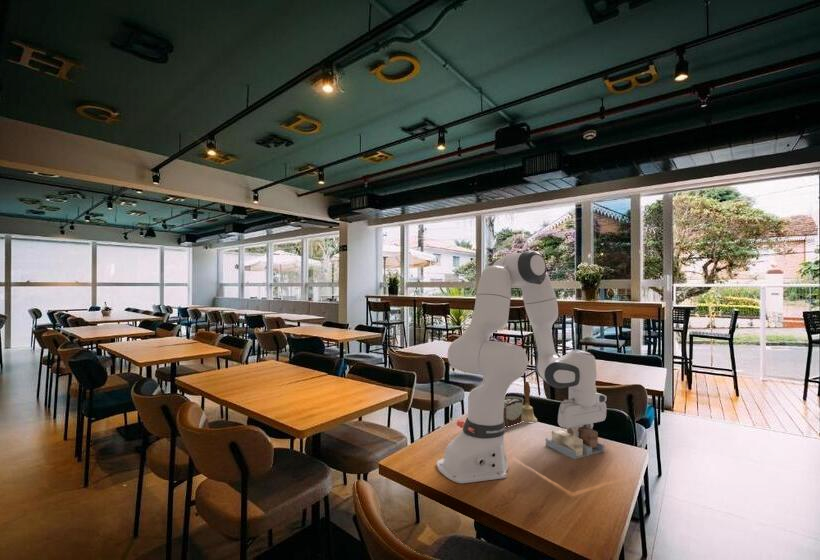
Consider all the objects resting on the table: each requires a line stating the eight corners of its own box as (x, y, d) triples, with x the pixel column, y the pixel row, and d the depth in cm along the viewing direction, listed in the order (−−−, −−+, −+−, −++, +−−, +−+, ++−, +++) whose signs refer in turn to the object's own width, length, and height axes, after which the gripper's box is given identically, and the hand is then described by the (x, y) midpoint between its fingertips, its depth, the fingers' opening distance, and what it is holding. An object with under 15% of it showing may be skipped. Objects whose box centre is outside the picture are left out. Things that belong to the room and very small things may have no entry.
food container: (511, 417, 164) (511, 394, 164) (523, 422, 159) (523, 397, 160) (492, 424, 157) (492, 399, 157) (504, 428, 152) (505, 403, 152)
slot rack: (573, 461, 124) (573, 452, 124) (545, 447, 135) (545, 438, 135) (604, 453, 130) (604, 444, 130) (575, 440, 141) (575, 432, 141)
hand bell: (534, 424, 157) (534, 385, 157) (514, 420, 161) (514, 382, 161) (539, 418, 164) (539, 381, 164) (520, 415, 168) (520, 378, 168)
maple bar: (582, 454, 127) (582, 439, 127) (575, 456, 126) (575, 441, 126) (559, 443, 136) (559, 429, 136) (551, 445, 135) (551, 430, 135)
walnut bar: (597, 446, 131) (597, 431, 131) (589, 448, 129) (590, 433, 129) (574, 435, 140) (574, 421, 140) (567, 436, 138) (567, 423, 138)
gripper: (568, 403, 127) (567, 445, 127) (609, 395, 136) (609, 435, 136) (553, 398, 133) (553, 438, 133) (594, 391, 142) (594, 429, 142)
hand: (582, 436), depth 134 cm, fingers closed on walnut bar, 4 cm apart
